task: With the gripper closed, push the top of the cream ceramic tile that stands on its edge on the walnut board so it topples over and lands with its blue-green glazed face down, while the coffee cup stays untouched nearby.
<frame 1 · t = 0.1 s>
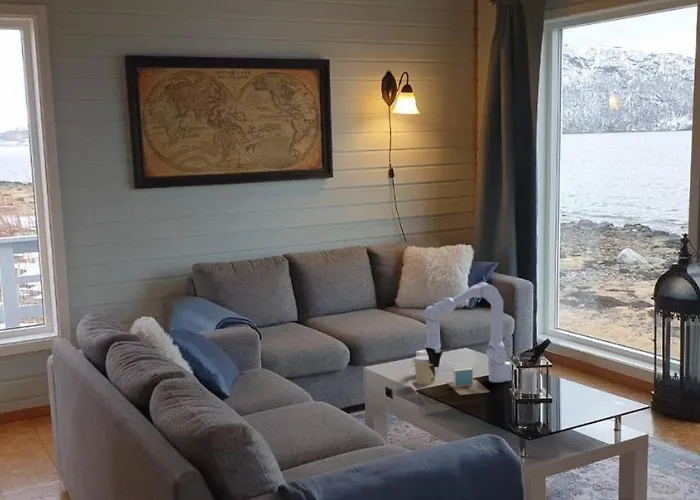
hand: (434, 365, 338), 10 cm above the table, tool pointing down, fingers open, 5 cm apart
board: (468, 389, 335), on the table
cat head: (429, 375, 361), on the table
coffee cup: (425, 384, 346), on the table, touching gripper
tile: (463, 385, 337), point 1 cm above the table, touching board
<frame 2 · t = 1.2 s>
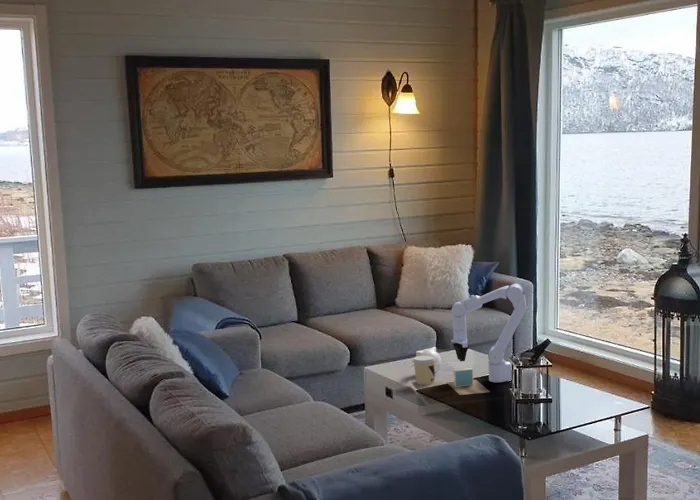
hand: (461, 360, 346), 10 cm above the table, tool pointing down, fingers open, 3 cm apart
coffee cup: (425, 384, 346), on the table
everything else where it was.
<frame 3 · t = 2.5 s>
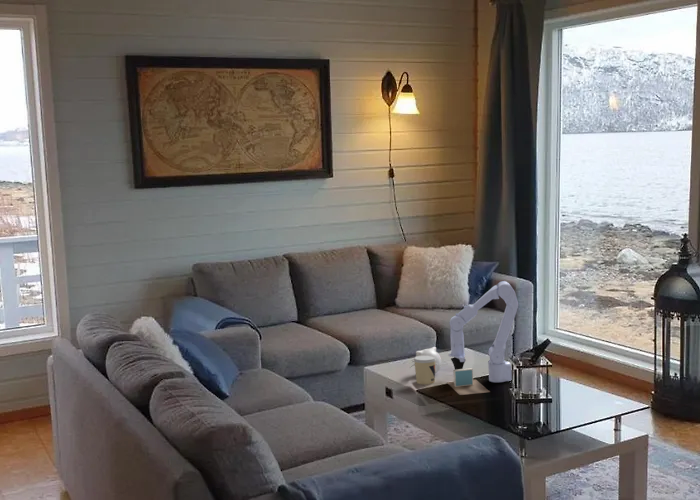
hand: (458, 374, 344), 4 cm above the table, tool pointing down, fingers closed
nothing on the table moved.
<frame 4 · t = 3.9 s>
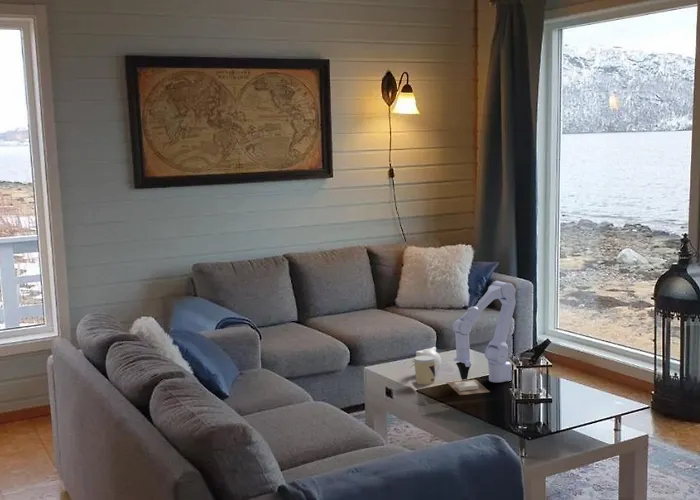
hand: (464, 379, 336), 4 cm above the table, tool pointing down, fingers closed
tile: (464, 383, 336), point 2 cm above the table, tilted 90°, touching board
everything else where it was.
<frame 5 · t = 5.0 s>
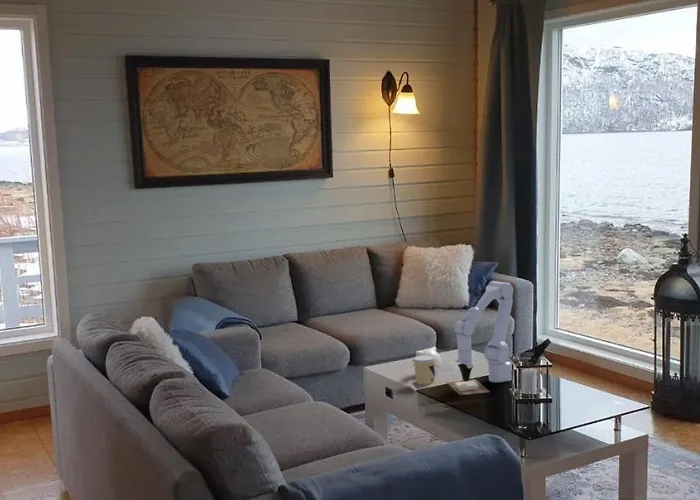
hand: (466, 380, 333), 4 cm above the table, tool pointing down, fingers closed
nothing on the table moved.
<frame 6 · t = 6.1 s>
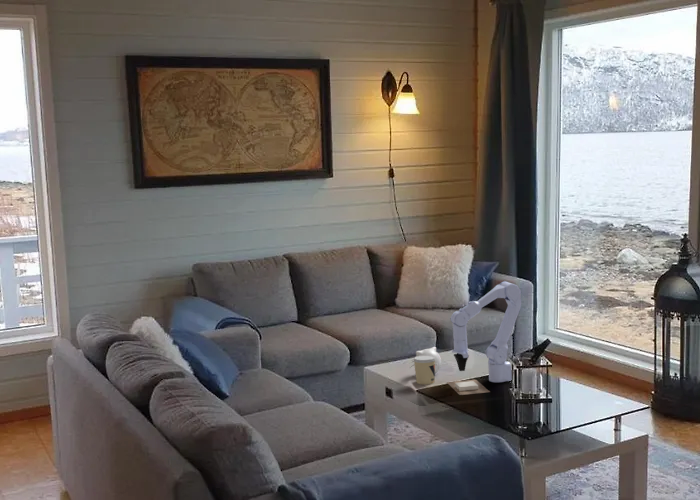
hand: (461, 370, 339), 7 cm above the table, tool pointing down, fingers closed
nothing on the table moved.
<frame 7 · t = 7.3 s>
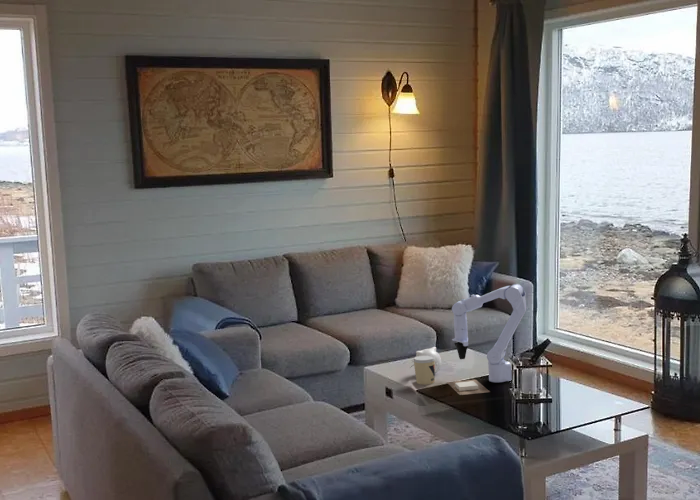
hand: (462, 358, 348), 10 cm above the table, tool pointing down, fingers closed
nothing on the table moved.
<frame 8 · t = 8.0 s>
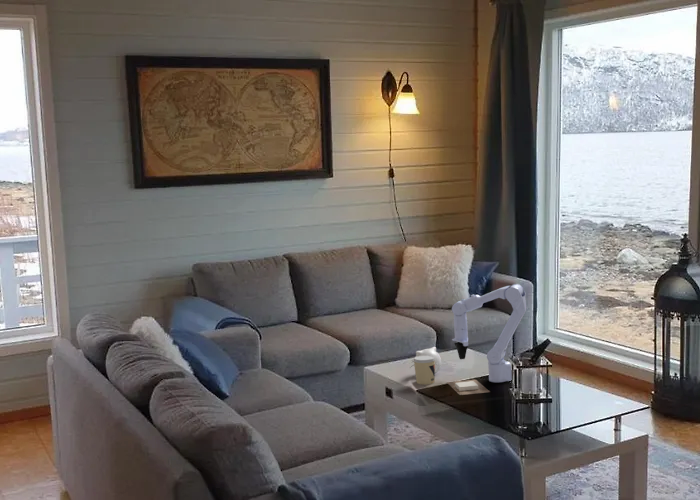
hand: (462, 358, 348), 10 cm above the table, tool pointing down, fingers closed
nothing on the table moved.
at the end: tile tilted 90°; tile inside the target area on the board (2.3 cm from its centre), point 2.1 cm above the board's base; tile point 2.1 cm above the table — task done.
